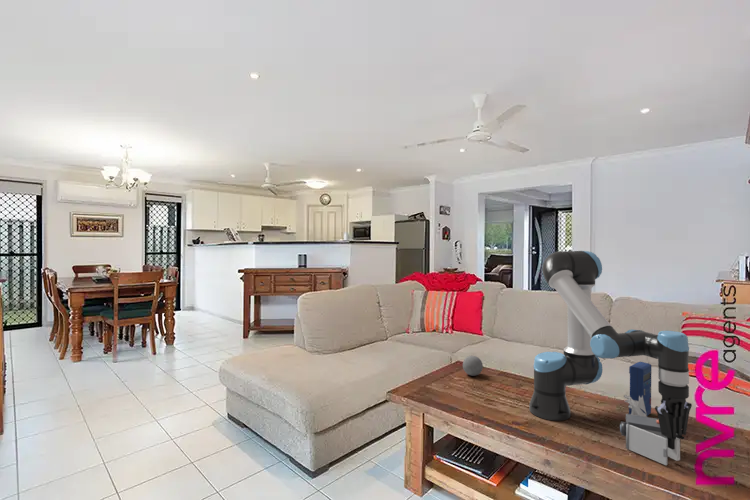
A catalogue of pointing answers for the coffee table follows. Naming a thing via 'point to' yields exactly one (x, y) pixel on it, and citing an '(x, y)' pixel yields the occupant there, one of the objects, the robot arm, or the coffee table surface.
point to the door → (647, 444)
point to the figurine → (636, 406)
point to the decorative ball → (472, 365)
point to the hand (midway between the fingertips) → (673, 458)
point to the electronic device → (641, 384)
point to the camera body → (642, 424)
